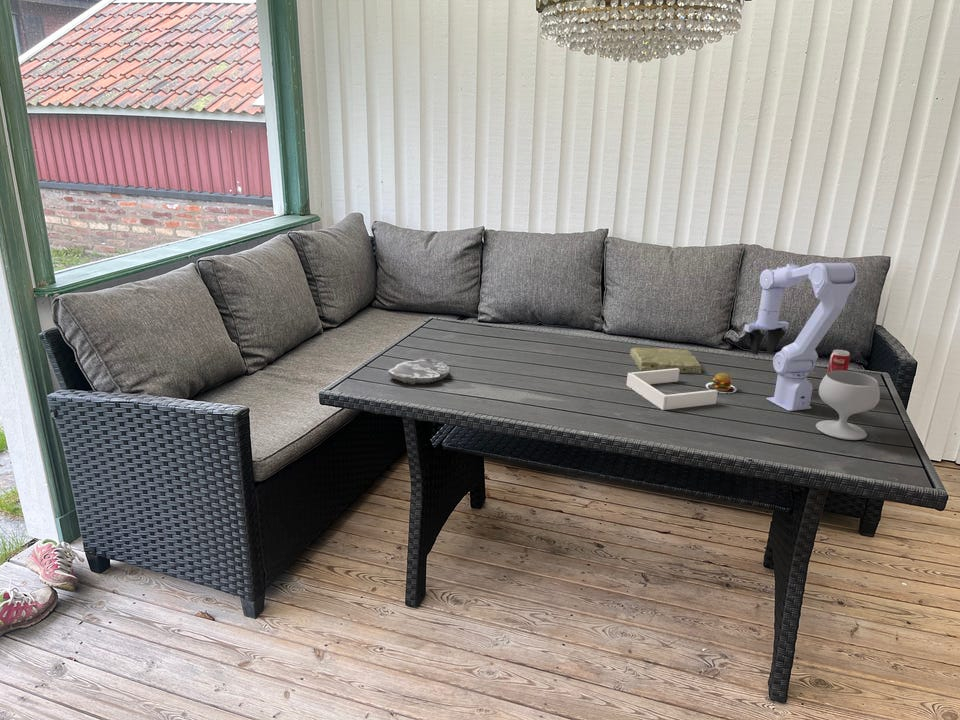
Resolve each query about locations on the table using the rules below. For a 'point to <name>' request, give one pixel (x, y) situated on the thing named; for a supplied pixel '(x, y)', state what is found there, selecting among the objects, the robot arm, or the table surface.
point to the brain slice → (420, 371)
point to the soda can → (839, 360)
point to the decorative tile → (665, 359)
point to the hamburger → (721, 382)
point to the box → (665, 402)
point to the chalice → (847, 401)
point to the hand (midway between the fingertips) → (762, 352)
